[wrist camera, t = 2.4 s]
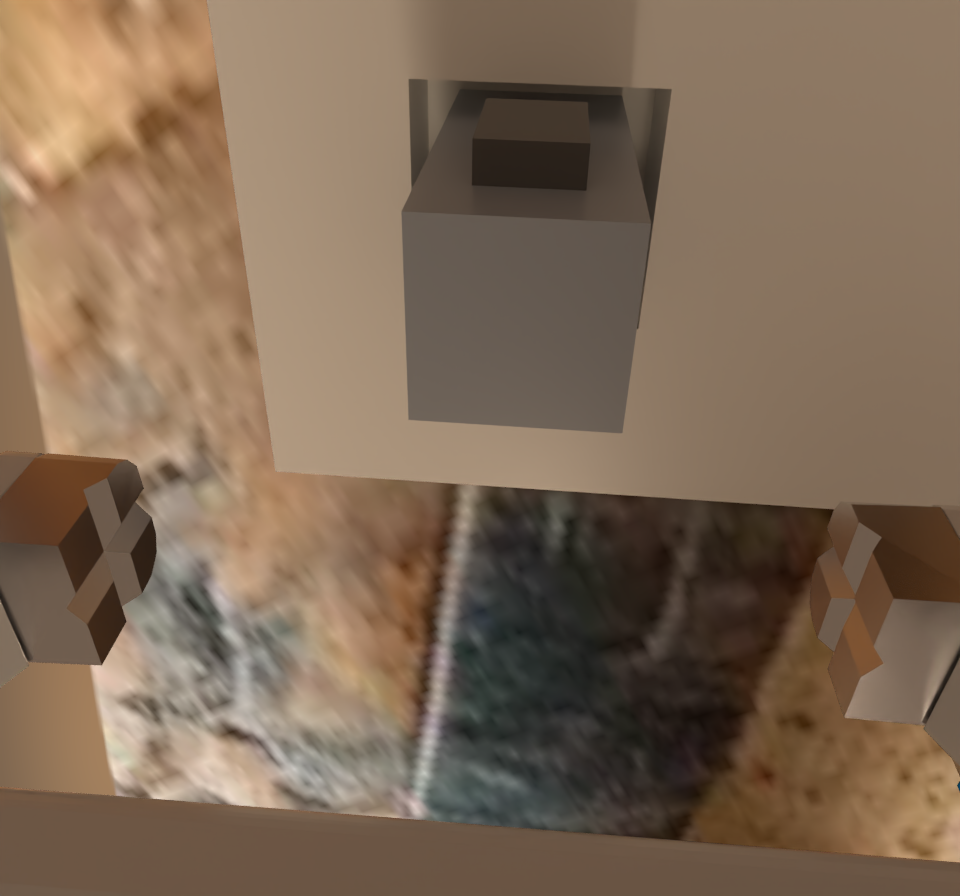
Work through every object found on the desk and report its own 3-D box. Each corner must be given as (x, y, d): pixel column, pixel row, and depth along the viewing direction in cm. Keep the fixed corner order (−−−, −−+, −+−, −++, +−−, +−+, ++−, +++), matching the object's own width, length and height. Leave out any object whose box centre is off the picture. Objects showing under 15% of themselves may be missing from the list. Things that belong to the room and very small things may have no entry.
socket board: (1202, 455, 26) (1300, 547, 23) (310, 399, 28) (272, 477, 24) (1602, -193, 17) (1870, -208, 14) (241, -218, 19) (166, -236, 15)
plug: (605, 250, 23) (621, 433, 16) (458, 243, 23) (408, 419, 16) (626, 60, 20) (658, 173, 13) (460, 54, 21) (399, 160, 13)
